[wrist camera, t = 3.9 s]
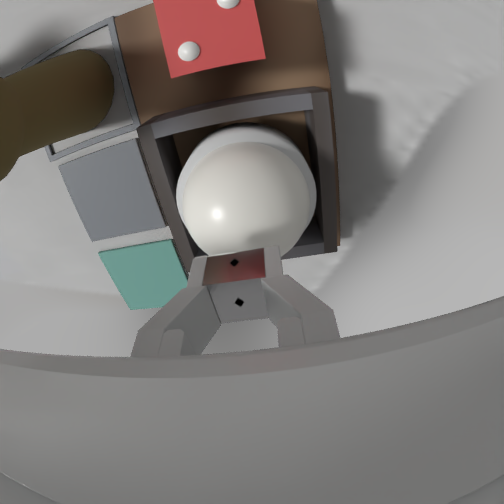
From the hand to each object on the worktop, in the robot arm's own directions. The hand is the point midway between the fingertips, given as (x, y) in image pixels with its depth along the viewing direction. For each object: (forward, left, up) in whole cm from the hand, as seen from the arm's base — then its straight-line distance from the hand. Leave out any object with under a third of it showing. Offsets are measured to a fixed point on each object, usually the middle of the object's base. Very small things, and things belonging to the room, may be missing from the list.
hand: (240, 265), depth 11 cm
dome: (0, 0, -7) cm, 8 cm away
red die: (0, -9, -9) cm, 12 cm away
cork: (+10, -8, -10) cm, 16 cm away
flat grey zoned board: (+10, 0, -10) cm, 14 cm away
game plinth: (0, -3, -10) cm, 10 cm away
